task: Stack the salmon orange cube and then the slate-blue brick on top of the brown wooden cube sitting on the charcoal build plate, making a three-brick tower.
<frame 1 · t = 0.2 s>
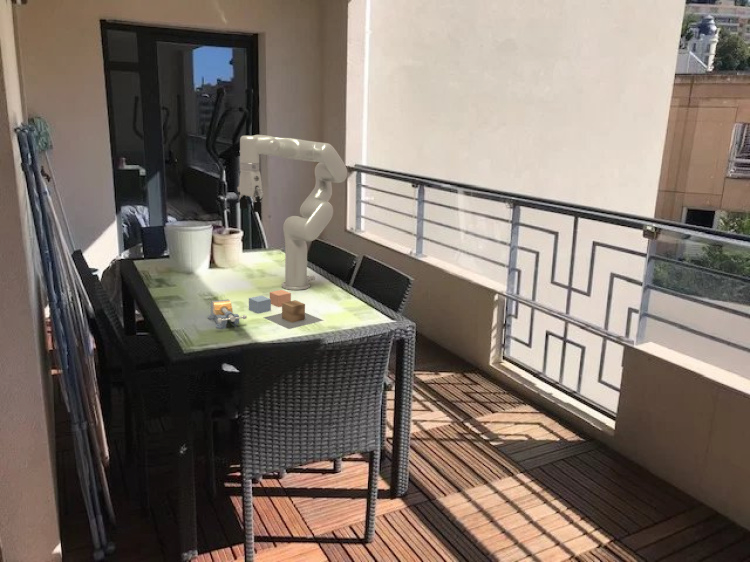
hand: (250, 210, 252), 36 cm above the table, tool pointing down, fingers open, 9 cm apart
salmon orange cube: (280, 307, 249), on the table
build plate: (293, 321, 231), on the table
brown wooden cube: (293, 318, 231), point 1 cm above the table, touching build plate
vise: (226, 323, 228), on the table
slate brick: (259, 313, 240), on the table
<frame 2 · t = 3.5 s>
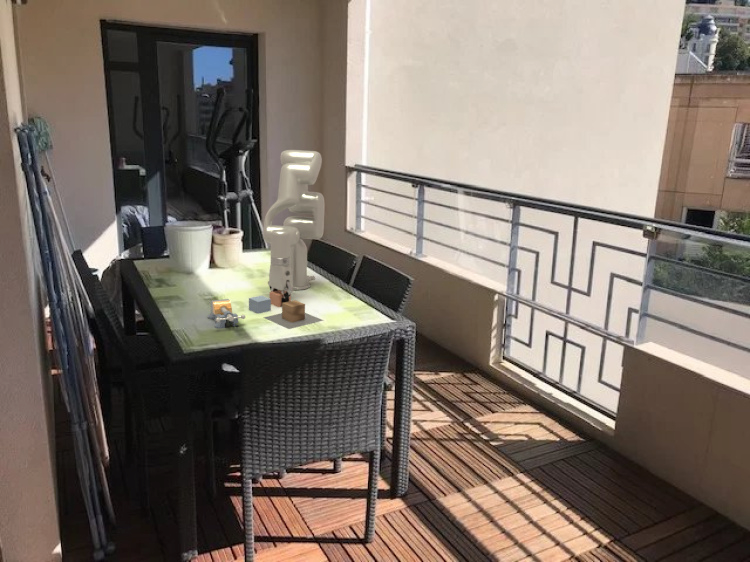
hand: (280, 304, 248), 1 cm above the table, tool pointing down, fingers closed on salmon orange cube, 6 cm apart
salmon orange cube: (280, 306, 248), on the table, touching gripper
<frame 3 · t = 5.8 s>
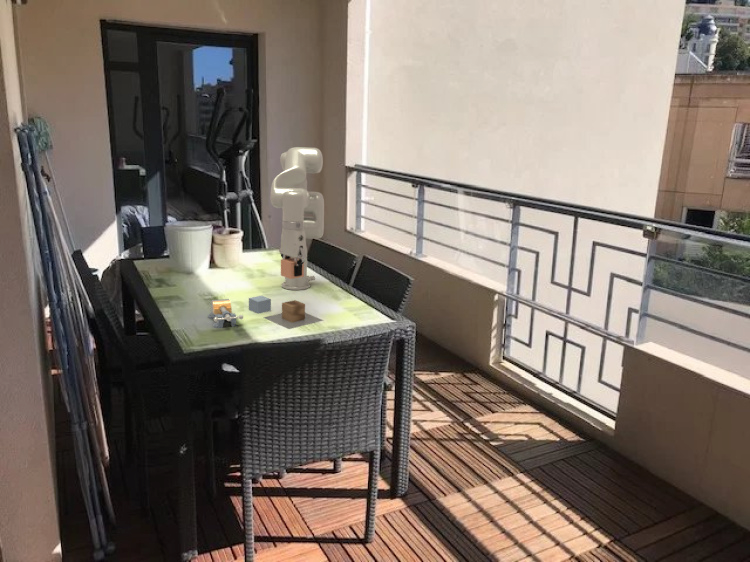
hand: (292, 273, 228), 18 cm above the table, tool pointing down, fingers closed on salmon orange cube, 6 cm apart
salmon orange cube: (292, 276, 228), point 17 cm above the table, touching gripper
when the fingers open (9 cm above the table, at t = 7.9 s): salmon orange cube drops 1 cm, resting on brown wooden cube.
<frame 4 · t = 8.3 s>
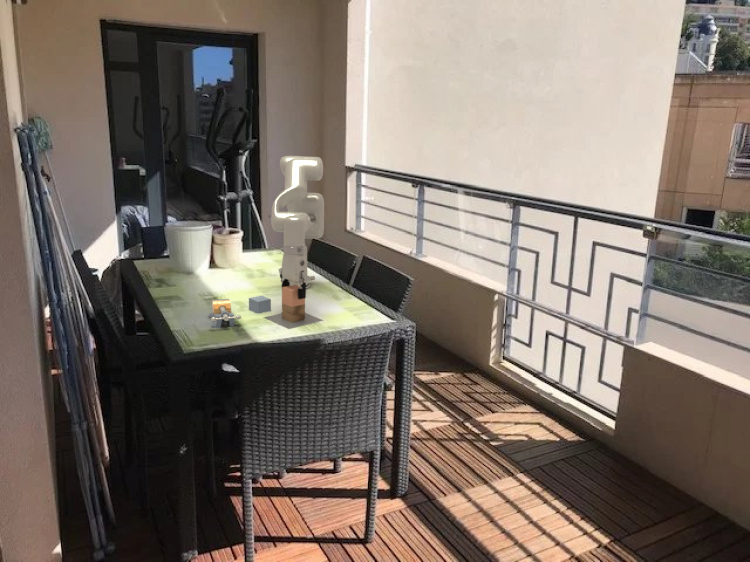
hand: (293, 295, 229), 10 cm above the table, tool pointing down, fingers open, 9 cm apart
salmon orange cube: (293, 303, 230), point 7 cm above the table, touching brown wooden cube
brown wooden cube: (293, 318, 231), point 1 cm above the table, touching build plate, salmon orange cube
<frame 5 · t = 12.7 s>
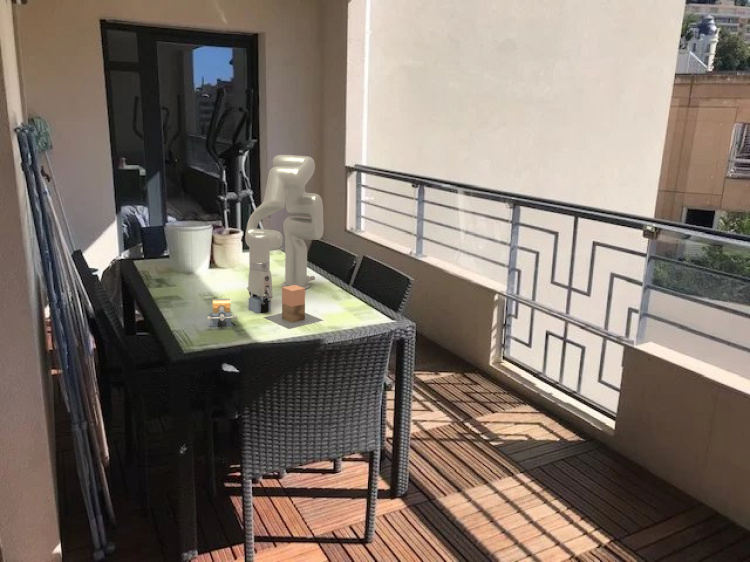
hand: (259, 310, 239), 1 cm above the table, tool pointing down, fingers closed on slate brick, 6 cm apart
slate brick: (259, 313, 240), on the table, touching gripper
when the fingers open (15 cm above the table, at t = 16.7 s): slate brick drops 1 cm, resting on salmon orange cube.
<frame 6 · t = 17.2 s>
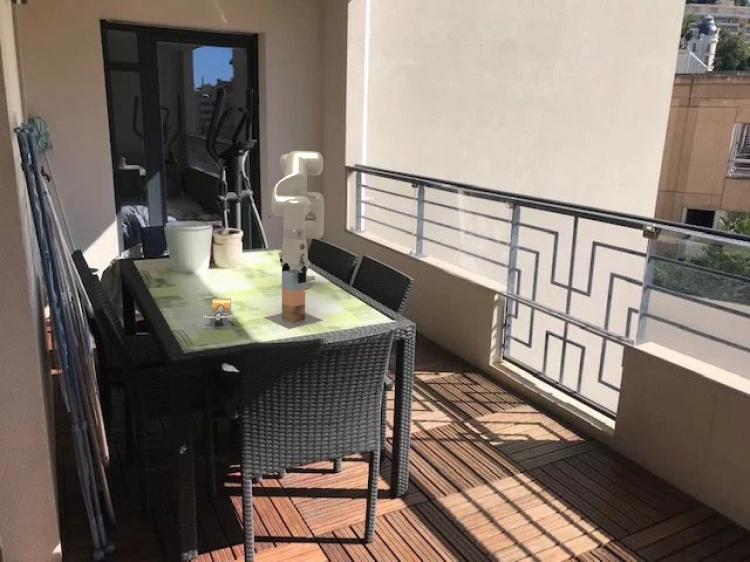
hand: (293, 279, 227), 16 cm above the table, tool pointing down, fingers open, 9 cm apart
salmon orange cube: (293, 303, 230), point 7 cm above the table, touching slate brick, brown wooden cube
slate brick: (293, 287, 228), point 13 cm above the table, touching salmon orange cube
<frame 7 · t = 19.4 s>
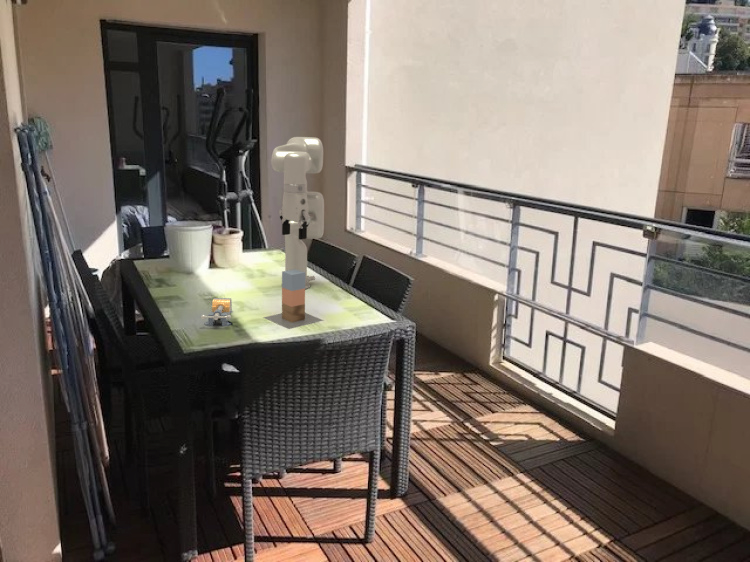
hand: (294, 236, 223), 32 cm above the table, tool pointing down, fingers open, 9 cm apart
at the end: salmon orange cube 0.0 cm off-centre on the brown wooden cube, point 6.0 cm above the brown wooden cube's base; slate brick 0.1 cm off-centre on the brown wooden cube, point 12.0 cm above the brown wooden cube's base; slate brick tilted 0° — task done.
